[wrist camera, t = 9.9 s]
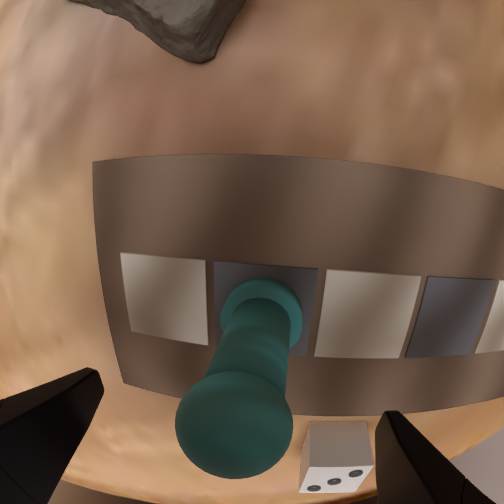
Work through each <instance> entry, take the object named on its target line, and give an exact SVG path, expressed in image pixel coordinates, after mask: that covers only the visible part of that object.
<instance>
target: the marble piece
mask: <svg viewBox="0 0 504 504" xmlns="http://www.w3.org/2000/svg"><path fill="white" fill-rule="evenodd" d="M72 1H74V2H81V3H83V4H85V5H87V6H90V7H92V8H98V9H101V10H102V11H103V12H105V13H106V14H111V15H118V16H119V17H121V18H124V19H125V20H127V21H129V22H130V23H131V24H132V25H133V26H134V28H135V29H136V30H138V31H140V32H142V33H144V34H145V35H146V36H147V37H149V38H150V39H151V40H152V41H154V42H155V43H156V44H157V45H159V46H160V47H161V48H163V49H164V50H166V51H168V52H170V53H171V54H173V55H176V56H179V57H181V58H183V59H186V60H189V61H193V62H203V61H206V60H208V59H211V58H212V57H214V55H215V52H216V48H217V47H218V45H219V43H220V42H221V40H222V38H223V36H224V33H225V30H226V29H227V28H228V27H229V25H230V24H231V21H232V20H233V19H234V17H235V16H236V14H237V13H238V11H239V10H240V9H241V7H242V5H243V3H244V2H245V0H72Z"/></svg>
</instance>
